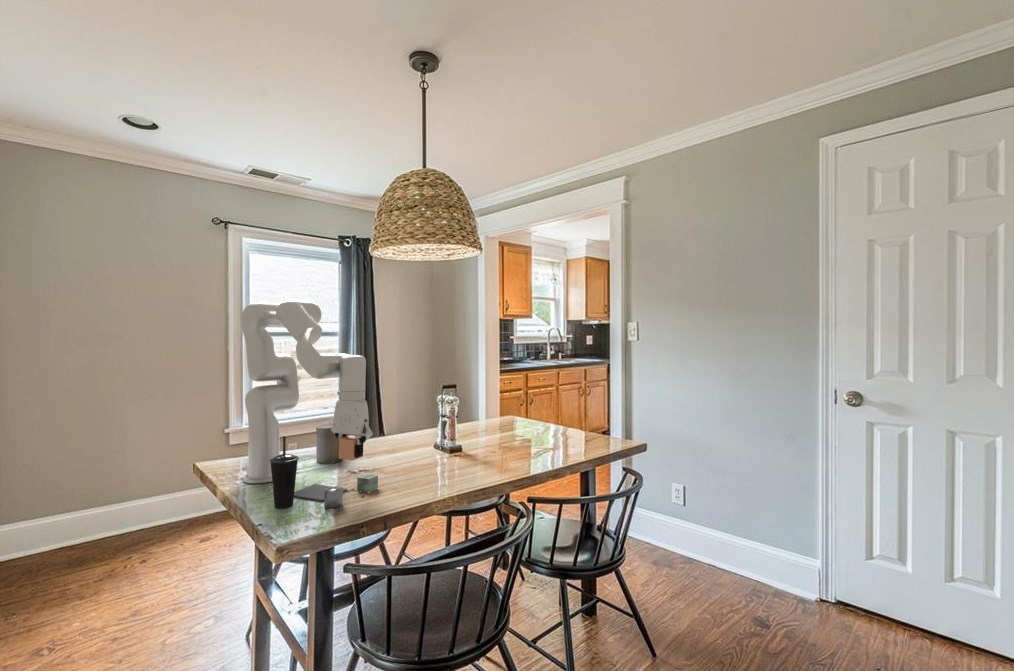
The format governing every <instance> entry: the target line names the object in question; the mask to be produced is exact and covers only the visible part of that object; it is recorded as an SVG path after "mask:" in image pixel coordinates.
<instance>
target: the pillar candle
mask: <svg viewBox="0 0 1014 671" xmlns="http://www.w3.org/2000/svg"><path fill="white" fill-rule="evenodd" d="M332 427H333V422H332V423H331V422H330V421H329V423H321V424H318V425H316V426H315V430H316V431H315V432H316V433H315V434H316V435H315V439H316V442H315V444H316V447H315V448H316V462H317V463H318V464H326V465H327V464H334V463H338V462H342V461H343V460H344V459H339V442H338V441H337V438H336V436H335V434H334V433H333V432H332V431H331V428H332Z"/></svg>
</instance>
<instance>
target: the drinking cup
mask: <svg viewBox="0 0 1014 671" xmlns="http://www.w3.org/2000/svg"><path fill="white" fill-rule="evenodd" d="M286 439H287V437H286V436H285V435H284V436H282V453H281V454H280V455H277V456H275V457H274V458H271V459H270V460H269V461H270V463H271V472H272V491H273V492H272V494H273V501H274V502H273V503H274V504H273V505H274V508H275V509H277V510H278V509H279V510H283V509H285V510H286V509H289V508H291V507H293V506H294V498H295V497H294V492H296V491H295V490H296V481H297V479H296V478H297V472H298V471H297V469H298V461H299V456H297V455H294V454H291V453H286V452H287V451H286V450H287V449H286V448H287V447H286V445H287V444H286Z"/></svg>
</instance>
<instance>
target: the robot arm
mask: <svg viewBox="0 0 1014 671" xmlns="http://www.w3.org/2000/svg"><path fill="white" fill-rule="evenodd" d="M321 319H322V310H321V308H320V306H319V305H318V304H317V303H315V302H314V301H311V300H302V299H301V300H299V299H287V300H286V299H285V300H282V301H281V302H271V301H270V302H269V301H256V302H251V303H249V304H246V306H245V307H244V308H243V310H242V312H241V316H240V326H241V330H242V333H243V338H244V341H245V342H244V343H245V351H246V365H247V372H248V377H249V379H250V380H251V381H254V382H260V383H262V382H263V383H264V382H275V381H276V384H267V385H266V384H265V385H259V386H255V387H253V388H251V389H249V390H248V392H246V394H245V397H244V404H245V410H246V414H247V423H248V424H247V425H248V430H247V431H248V438H247V439H248V441H247V442H248V448H247V449H248V450H247V451H248V452H247V453H248V457H247V458H248V459H247V460H248V462H247V463H246V464H245V465H244V466H242V467H241V470H242V471H243V472H244V471H246V474H245V475H244V476H242V481H243V482H244V483H246V484H252V485H253V484H254V485H255V484H258V485H259V484H266V483H267V482H268V483H271V482H272V472H271V463H270V461H269V460H270V459H271V458H274V457H275V456H277V455H281V454H280V450H281V449H280V446H281V445H280V444H281V443H280V438H281V437H280V436H281V434H280V432H281V431H280V430H281V429H280V423H279V420H278V419H277V417H276V415H275V414H274V413H277V412H284V411H290V410H292V409H294V408H295V407H296V406H297V405H298V404H299V398H300V392H299V391H300V390H299V389H300V388H299V378H298V368H297V363H296V361H295V359H294V357H293V356H291V354H288V353H283V352H282V353H281V352H280V353H279V352H277V353H276V352H275V346H274V345H275V344H274V339H273V338H272V336H271V334H270V333H269V332H268V330H267V329H266V328H285V329H286V330H287V331H288V333H289V334H290V335H291V336H292V337H293V339H294V340H295V341H296V345H295V354H296V358H297V361H298V363H299V365H300V366H301V367H302V368H303V370H304V371H305V372H306V373H307V374H308V375H309V376H310V377H311V378H314V379H317V380H325V379H336V378H339V390H338V391H337V396H339V399H337V400H336V403H335V407H334V412H333V422H332V423H333V427H332V428H331V431H332V432H333V433H334V434H335V436H336V438H337V441H338V442H339V439H340V438H343V437H346V436H350V435H351V436H355V439H356V445H355V458H358V457H361V456H363V457H364V444H365V443H366V441H367V440H368V439H369V438H371V436H373V435H374V433H373V431H372V430H371V427H370V426H369V425H370V422H369V421H370V418H369V416H370V415H369V407H368V406H369V405H368V402H367V400H366V382H367V381H366V379H367V378H366V377H367V376H366V375H367V374H366V372H367V359H366V357H365V356H363V355H358V354H348V353H341V352H339V353H333V352H332V353H330V352H329V353H319V352H318V351H317V349H316V348H315V347H314V344H315V343H317V341H319V340H320V338H321V337H322V335H323V329H322V326H320V324H319V323H320V322H321ZM361 458H362V457H361ZM358 459H359V458H358Z"/></svg>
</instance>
